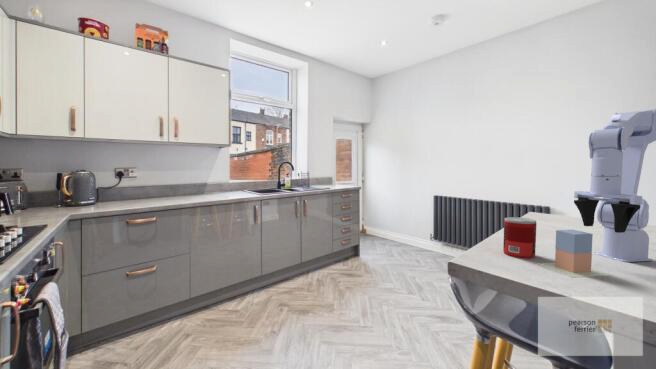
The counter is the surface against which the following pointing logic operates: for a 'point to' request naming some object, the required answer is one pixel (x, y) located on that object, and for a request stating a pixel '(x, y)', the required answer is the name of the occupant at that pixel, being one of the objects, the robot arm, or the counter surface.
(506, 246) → the canned food
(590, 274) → the plate
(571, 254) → the terracotta brick
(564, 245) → the blue brick
